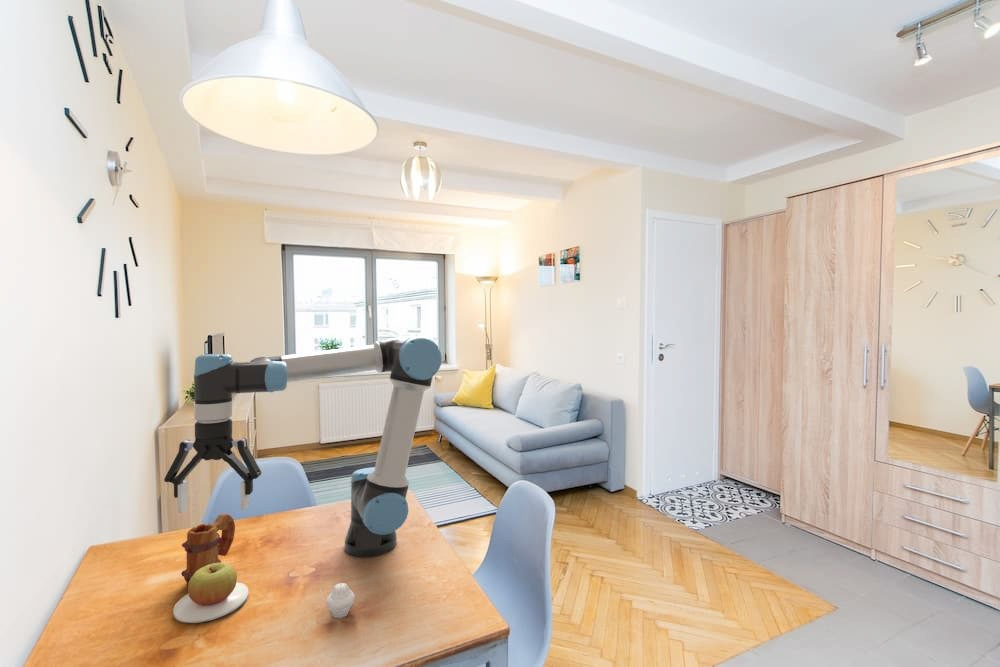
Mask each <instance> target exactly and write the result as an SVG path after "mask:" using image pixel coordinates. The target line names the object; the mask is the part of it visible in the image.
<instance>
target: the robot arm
mask: <svg viewBox="0 0 1000 667" xmlns="http://www.w3.org/2000/svg"><path fill="white" fill-rule="evenodd" d="M442 360H443V358H442V352H441V349H440V347H439V346H438V345H437V343H436V342H435V341H433V340H432V339H431V338H428V337H427V336H422V335H409V334H408V335H407V334H406V335H401V336H397V337H392V338H388V339H383V340H378V341H377V340H376V341H374V342H373V343H372V344H370V345H362V346H354V347H345V348H337V349H336V348H334V349H327V350H321V351H320V350H319V351H309V352H302V353H294V354H286V355H285V354H284V355H279V356H278V355H277V356H276V355H275V356H268V357H267V356H266V357H265V356H260V357H255V358H253V359H251V360H250V361H244V362H243V361H241V362H239V361H233V356H232V355H231V354H228V353H210V354H209V353H208V354H200V355H198V356H197V357H196V358H195V360H194V374H193V380H194V382H193V387H194V389H193V390H194V417H193V418H194V420H195V421H196V422H195V423H194V441H191V439H186V440H184V441H182V442H180V443H179V444H178V445H179V446H178V453H177V454H176V456H175V458H174V460H173V461H172V463H171V466H170V467H169V469H168V471H167V473H166V475H165V476H164V479H163V481H164V482H165V483H172V484H173V497H174V498H176V499H177V513H178V514H181V513H184V511H186V510H187V509H189V507H188V505H189V504H188V503H189V502H188V500H189V499H188V498H189V496H188V494H189V493H188V486H189V484H188V480H185V479H186V477H188V475H190V473H191V472H192V471H193V470H194V469H195V468H196V467H197V465H198V464H200V462H201V461H202V460H204V461H211V460H214V461H220V460H223V461H224V462H225V463H227V464H228V465H229V466H230V467H231V468H232V470H233V471H235V472H236V473H237V474H238V475H239V476H240V477H241V479H242V481H241V482H240V510H241V511H245V510H246V509H247V508H248V507H249V506H250V500H249V498H250V495H251V494H252V493H253V491H254V480H256V479H259V477H260V476H261V475H262V470H261V469H260V467H259V465H258V463H257V461H256V459H255V458H254V456H253V454H252V452H251V451H250V449H249V447H248V439H247V438H246V437H243V438H241V439H238V440H236V439H235V440H234V439H233V420H232V419H231V418H232V417H233V394H247V393H249V394H251V393H274V392H282V391H286V389H287V387H288V386H287V385H288V383H290V382H299V381H305V380H314V379H319V378H320V379H321V378H326V377H334V376H335V377H336V376H340V375H342V376H344V375H350V374H357V373H363V372H371V371H376V372H377V373H379V374H381V373H390V376H389V380H390V382H391V384H392V386H393V387H392V391H391V396H390V400H389V405H388V408H387V413H386V418H385V421H384V422H385V423H384V426H383V431H382V435H381V440H380V442H379V444H380V445H379V449H378V453H377V458H376V462H375V466H372V467H364V468H361V469H357V470H354V472H352V474H351V480H350V484H351V485H350V492H351V493H350V494H351V495H350V500H351V501H350V522H349V526H348V530H347V532H346V533H347V534H346V536H345V538H344V551H345V552H346V553H347V554H349V555H351V556H354V557H360V558H369V557H370V558H371V557H376V556H377V557H378V556H381V555H383V554H386V553H387V552H390V551H391V550H393V549H394V548H395V547H396V545H397V543H396V542H397V539H398V538H397V533H396V531H397V530H398V529H400V528H402V526H403V525H404V523H405V522H406V520H407V518H408V514H409V503H408V501H407V500H406V499H407V494H408V490H409V486H410V481H409V480H408V478H407V477H406V473H407V469H408V465H409V464H408V463H409V460H410V456H411V451H412V447H413V443H414V437H415V432H416V428H417V424H418V420H419V416H420V410H421V406H422V401H423V398H424V392H425V391H427V390H429V389H431V386H432V382H433V378H434V376H435V375H436V374H437V373H438V372H439V370H440V368H441V366H442ZM233 447H235V449H236V450H237V451H238V453H239V455H240V458H241V459H242V461H243V462H244V463H243V462H242V461H241V460H240V459H239V458H238V457H237V456H236V453H235V452H234V451H233V450H232V448H233ZM192 449H194V450H195V451H196V454H195V455H194V456H193V457H192V458H191V460H190V462H188V463H187V465H186V466H185V467H184V468H183V469H181V468H182V466H183V463H184V462H185V460H186V458H187V456H188V454H189V452H190V451H192ZM180 470H181V471H180ZM179 471H180V472H179Z"/></svg>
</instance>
